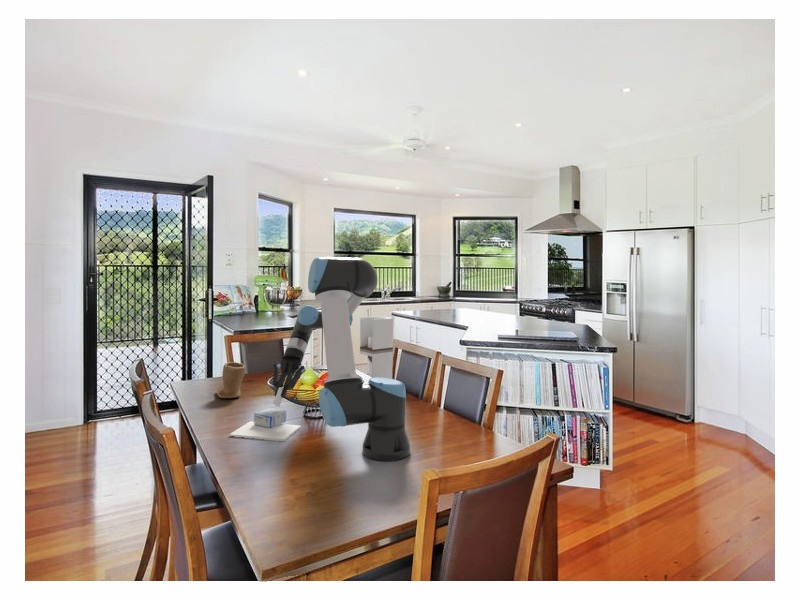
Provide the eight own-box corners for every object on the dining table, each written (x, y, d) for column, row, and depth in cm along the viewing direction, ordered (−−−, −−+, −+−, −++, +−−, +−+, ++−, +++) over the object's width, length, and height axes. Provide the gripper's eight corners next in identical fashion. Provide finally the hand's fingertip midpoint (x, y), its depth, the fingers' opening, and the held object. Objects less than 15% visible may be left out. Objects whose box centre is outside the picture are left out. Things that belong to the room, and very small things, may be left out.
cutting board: (284, 441, 157) (284, 439, 157) (229, 436, 161) (229, 434, 161) (300, 427, 171) (300, 425, 171) (250, 423, 174) (249, 421, 174)
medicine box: (270, 418, 178) (253, 424, 170) (270, 406, 178) (253, 412, 170) (286, 421, 175) (270, 428, 167) (286, 409, 174) (270, 416, 167)
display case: (378, 387, 232) (379, 316, 229) (392, 391, 224) (393, 318, 221) (359, 390, 224) (360, 317, 222) (372, 395, 216) (373, 319, 214)
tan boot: (246, 398, 207) (246, 365, 206) (217, 401, 202) (217, 366, 201) (243, 390, 221) (243, 358, 220) (216, 392, 216) (216, 360, 215)
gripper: (312, 358, 190) (296, 410, 175) (282, 356, 192) (263, 408, 177) (308, 347, 184) (290, 400, 169) (276, 345, 187) (256, 398, 172)
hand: (276, 404), depth 173 cm, fingers closed
